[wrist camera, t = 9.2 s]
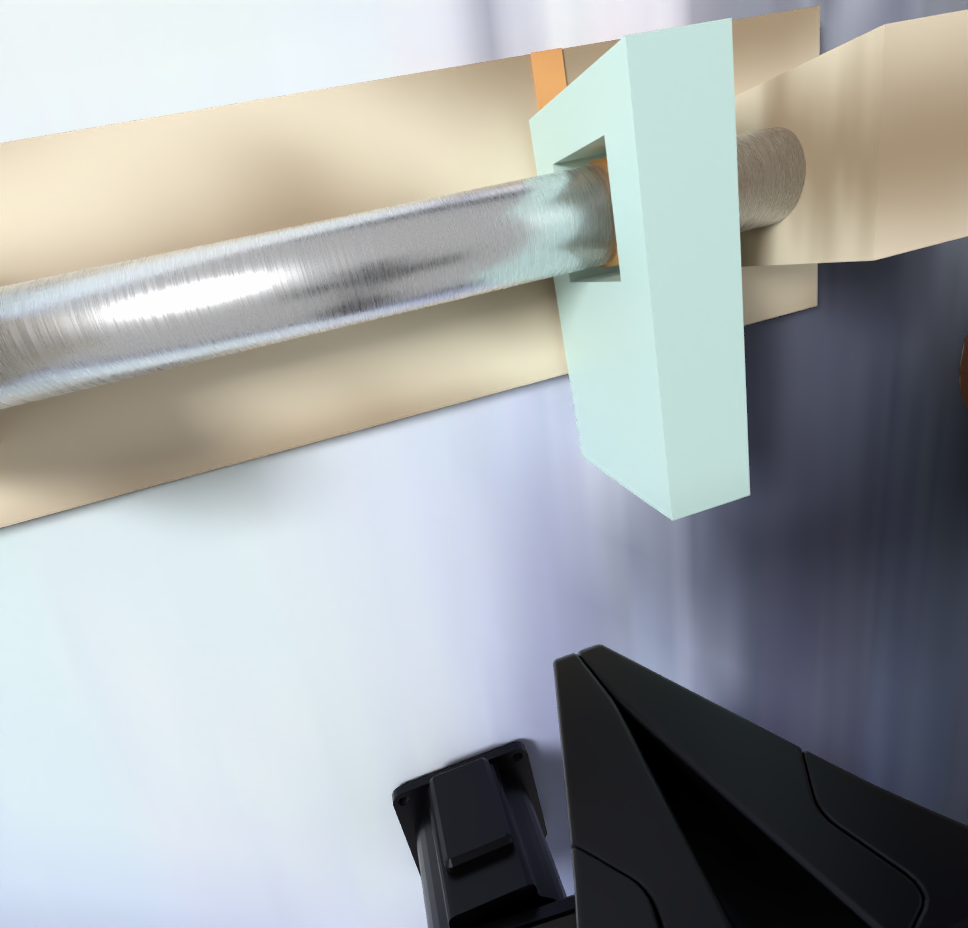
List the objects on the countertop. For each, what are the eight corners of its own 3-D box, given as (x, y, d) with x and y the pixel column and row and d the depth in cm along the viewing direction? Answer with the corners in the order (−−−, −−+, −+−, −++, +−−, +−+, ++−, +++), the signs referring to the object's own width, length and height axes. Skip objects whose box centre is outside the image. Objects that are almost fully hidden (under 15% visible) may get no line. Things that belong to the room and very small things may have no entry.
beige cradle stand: (801, 305, 23) (1015, 314, 16) (-116, 552, 17) (-443, 744, 10) (801, 16, 19) (1079, -146, 12) (-353, 212, 14) (-1118, 132, 6)
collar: (640, 439, 21) (750, 495, 16) (581, 456, 21) (672, 520, 15) (602, 106, 17) (731, 17, 12) (528, 120, 17) (625, 35, 11)
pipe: (818, 213, 18) (896, 201, 16) (-201, 457, 14) (-328, 498, 11) (819, 119, 17) (902, 90, 15) (-280, 346, 13) (-440, 362, 10)
